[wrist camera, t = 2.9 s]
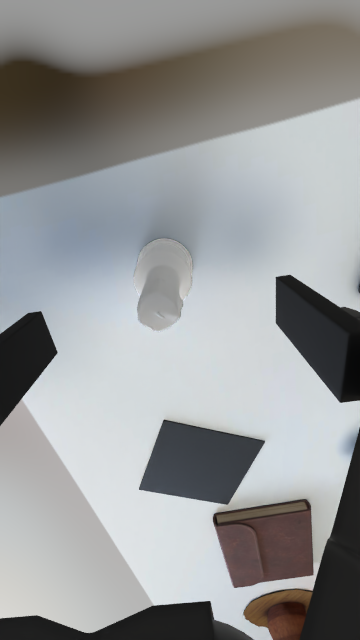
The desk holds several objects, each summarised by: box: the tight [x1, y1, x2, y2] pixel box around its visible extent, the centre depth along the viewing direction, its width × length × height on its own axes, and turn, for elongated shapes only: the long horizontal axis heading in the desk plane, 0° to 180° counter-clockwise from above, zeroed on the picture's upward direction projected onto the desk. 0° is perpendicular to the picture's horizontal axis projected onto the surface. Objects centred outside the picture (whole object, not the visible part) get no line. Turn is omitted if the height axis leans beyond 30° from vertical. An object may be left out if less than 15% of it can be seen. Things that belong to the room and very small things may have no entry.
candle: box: [134, 238, 193, 332], centre depth 20 cm, size 5×5×12 cm
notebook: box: [213, 500, 313, 588], centre depth 45 cm, size 15×20×2 cm
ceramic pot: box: [244, 589, 312, 640], centre depth 53 cm, size 18×18×7 cm
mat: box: [139, 420, 265, 505], centre depth 37 cm, size 14×14×1 cm
